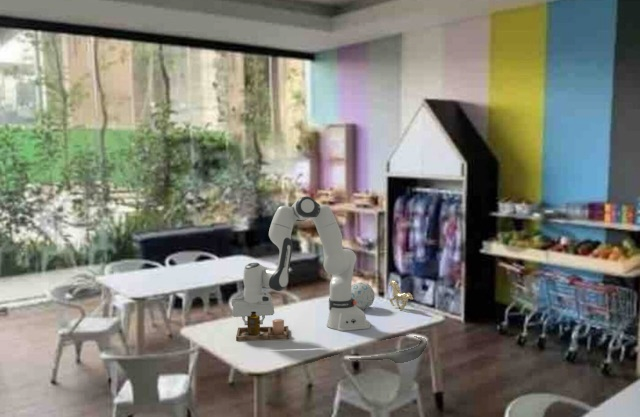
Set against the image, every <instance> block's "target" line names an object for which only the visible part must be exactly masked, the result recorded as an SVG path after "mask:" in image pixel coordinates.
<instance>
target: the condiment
mask: <svg viewBox="0 0 640 417" xmlns="http://www.w3.org/2000/svg"><path fill="white" fill-rule="evenodd" d="M251 313H252V314H251V316H246V319H247V320H246V321H247V322H248V325H246V326H247V327H248V332H247V333H245V334H242V335H243V336H258V335H260V334H262V333H264V332H260V327H261V324H260V320H261V316H256V312H251Z"/></svg>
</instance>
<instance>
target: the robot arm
mask: <svg viewBox="0 0 640 417" xmlns="http://www.w3.org/2000/svg"><path fill="white" fill-rule="evenodd" d="M309 219H310V220H311V221H313V223H314V225H315V228H316V231H317V233H318V237H319V240H320V243H321V247H322V251H323V253H322V254H323V269H324V271H325V272H326V273H327V274H328V275H331V280H330V282H329V298H328V310H329V312H328V319H327V323H326V327H328V328H330V329H332V330H338V331H340V332H345V331H346V332H347V331H355V330H356V331H357V330H367V329H370V328H371V322H370V321H369V320H368V319H367V316H366V314H365V311H363V309H359V308H358V307H356V306H355V305H356V304H357V302H356V301H355V300H354V299H353V298H351V287H352V282H353V276H354V269H355V265H356V262H357V255H356V253H355V251H353V250H352V249H349V248H343V247H344V246H343V235H342V231H341V229H340V227H339V224H338V222H337V221H338V220H337V219H336V216H335V215H334V212H333V211H332V209H331V208H330V206H328V205H326V204H321V205H320V204H319V203H318V202H317V201H316V200H315V199H314V198H312V197H311V196H302V197H300V198H298V199H297V200H296V201H295V202H294V203H293V204H292V205H291V206H288V205H281V206H279V207H277V210H276V211H275V213H274V215H273V218H272V220H271V223H270V225H269V226H270V227H269V231H268V237H269V239H270V241H271V242H272V243H273V244H274V245H275V246H276V247H277V248H278V250H279V255H278V261H277V266H276V268H271V267H269V266H263V265H261V264H260V263H259V262H250V263H248V264H246V265H245V266H244V270H243V279H242V280H243V286H244V288H243V297H242V296H240V297H234V298H232V299H231V306H232V316H233V317H234V318H241V320H242V321H243V322H244V326H247V325H248V322H247V320H246V317H247V316H251V314H252V313H251V312H256V316H260V317H261V319H260V325H264V320H265V319H266V316H274V314H275V307H274V302H273V299H272V294H270V293H269V292H264V291H263V288H267V289H271V290H274V291H276V292H281V291H283V290H284V289H285V288H286V287H287V286H288V284H289V280H290V279H289V278H290V274H289V273H290V265H291V259H292V254H293V241H292V232H293V229H294V225H295V223H296V222H304V221H306V220H309Z"/></svg>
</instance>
